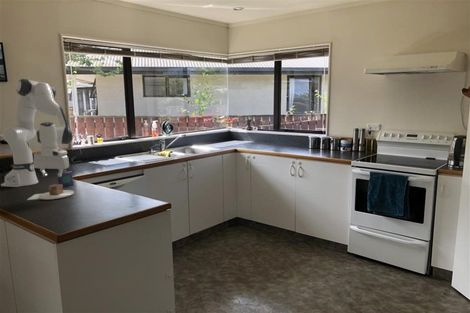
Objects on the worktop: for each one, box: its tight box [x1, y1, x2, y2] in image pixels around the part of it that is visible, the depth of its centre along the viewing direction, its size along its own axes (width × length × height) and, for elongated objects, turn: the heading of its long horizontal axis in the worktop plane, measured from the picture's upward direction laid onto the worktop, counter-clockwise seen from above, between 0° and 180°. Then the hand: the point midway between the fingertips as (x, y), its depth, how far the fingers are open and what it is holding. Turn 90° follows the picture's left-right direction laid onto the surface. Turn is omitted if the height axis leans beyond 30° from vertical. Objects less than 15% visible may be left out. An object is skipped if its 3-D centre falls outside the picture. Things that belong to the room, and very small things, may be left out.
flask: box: [57, 169, 74, 188], centre depth 228 cm, size 9×3×11 cm, turn 144°
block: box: [48, 183, 64, 195], centre depth 205 cm, size 5×5×5 cm
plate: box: [39, 189, 75, 200], centre depth 205 cm, size 18×18×1 cm
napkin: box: [26, 193, 42, 201], centre depth 205 cm, size 8×12×1 cm, turn 10°
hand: (52, 176), depth 203 cm, fingers open, 8 cm apart
